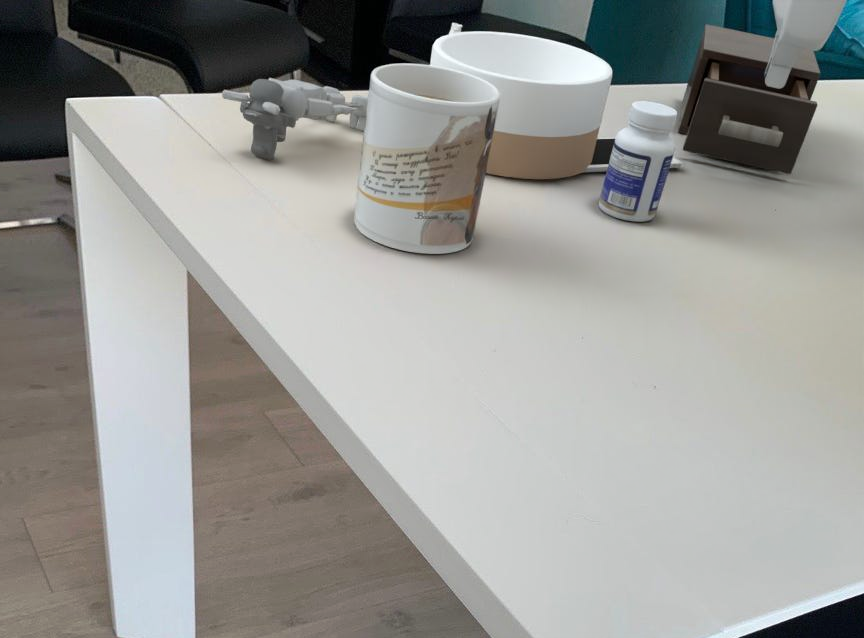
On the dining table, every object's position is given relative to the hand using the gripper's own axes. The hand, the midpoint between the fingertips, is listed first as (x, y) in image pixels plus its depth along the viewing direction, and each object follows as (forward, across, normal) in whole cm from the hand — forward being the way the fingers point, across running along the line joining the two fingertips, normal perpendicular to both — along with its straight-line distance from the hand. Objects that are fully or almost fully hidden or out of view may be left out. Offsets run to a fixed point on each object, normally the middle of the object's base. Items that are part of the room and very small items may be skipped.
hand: (772, 84), depth 93 cm
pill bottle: (+11, +10, -10) cm, 18 cm away
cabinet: (+11, -28, 0) cm, 30 cm away
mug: (+11, +25, -26) cm, 38 cm away
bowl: (+11, 0, -23) cm, 25 cm away
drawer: (+10, -15, 0) cm, 18 cm away
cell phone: (+11, -4, -14) cm, 18 cm away
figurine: (+11, +12, -40) cm, 43 cm away
